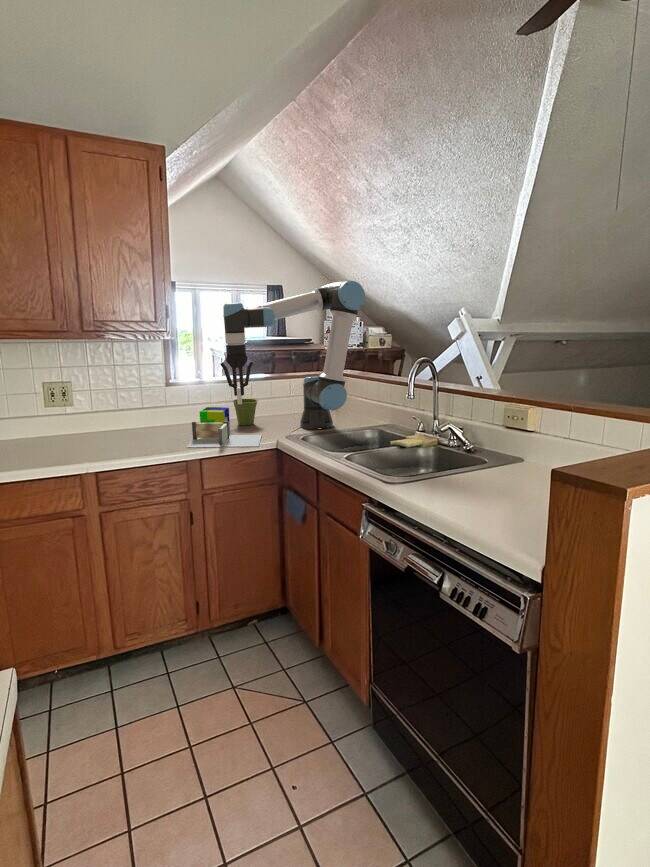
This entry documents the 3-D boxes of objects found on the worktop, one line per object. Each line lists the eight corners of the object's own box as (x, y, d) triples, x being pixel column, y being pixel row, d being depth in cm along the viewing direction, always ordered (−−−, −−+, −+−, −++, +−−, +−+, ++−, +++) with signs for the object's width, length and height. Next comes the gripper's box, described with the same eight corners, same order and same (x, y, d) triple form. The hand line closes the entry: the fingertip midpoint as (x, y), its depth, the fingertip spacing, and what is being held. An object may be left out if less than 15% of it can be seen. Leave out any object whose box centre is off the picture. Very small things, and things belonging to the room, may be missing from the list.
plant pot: (257, 426, 230) (256, 402, 227) (231, 426, 230) (230, 402, 227) (260, 421, 241) (259, 398, 238) (235, 421, 241) (234, 398, 239)
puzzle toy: (229, 429, 226) (228, 407, 223) (223, 434, 216) (222, 412, 214) (208, 428, 227) (207, 407, 224) (200, 434, 217) (199, 411, 215)
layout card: (261, 435, 214) (261, 434, 214) (258, 446, 197) (258, 445, 197) (195, 436, 213) (195, 435, 213) (186, 447, 195) (186, 447, 195)
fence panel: (222, 445, 196) (221, 429, 194) (218, 445, 196) (217, 429, 194) (227, 437, 206) (227, 422, 205) (224, 437, 206) (223, 422, 205)
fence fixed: (229, 438, 209) (228, 421, 207) (229, 439, 207) (228, 422, 205) (193, 439, 208) (192, 421, 206) (192, 440, 207) (191, 422, 205)
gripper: (253, 342, 198) (257, 401, 204) (220, 343, 197) (224, 402, 203) (251, 344, 191) (255, 404, 197) (217, 345, 190) (222, 406, 196)
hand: (239, 403), depth 200 cm, fingers closed
